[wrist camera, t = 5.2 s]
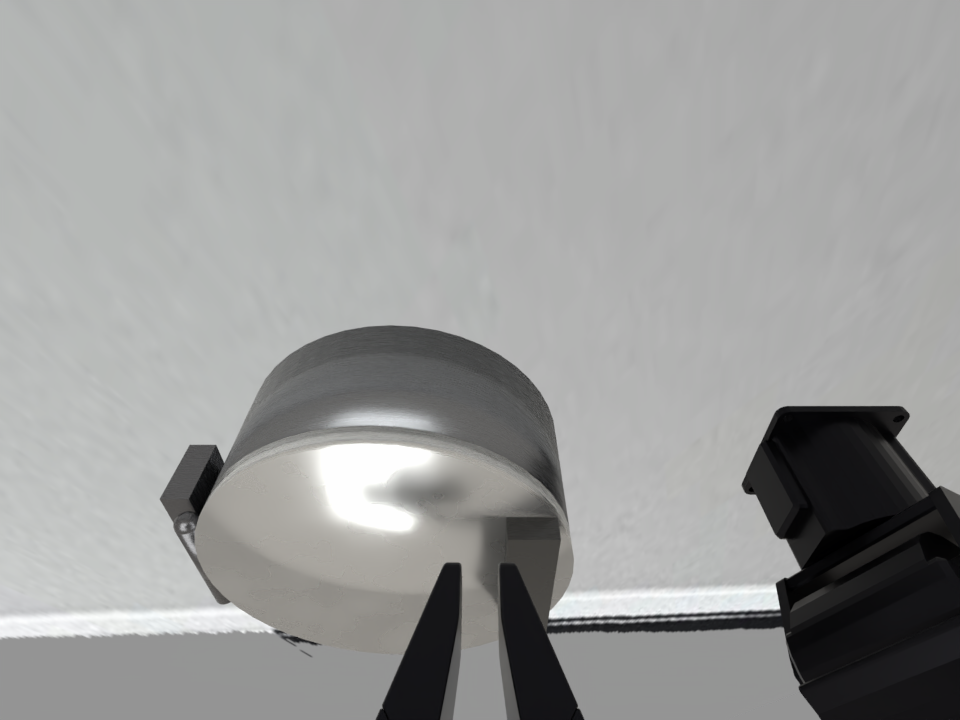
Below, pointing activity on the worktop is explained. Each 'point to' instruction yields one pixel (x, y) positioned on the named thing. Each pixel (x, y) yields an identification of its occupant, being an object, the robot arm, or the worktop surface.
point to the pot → (387, 403)
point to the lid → (375, 535)
